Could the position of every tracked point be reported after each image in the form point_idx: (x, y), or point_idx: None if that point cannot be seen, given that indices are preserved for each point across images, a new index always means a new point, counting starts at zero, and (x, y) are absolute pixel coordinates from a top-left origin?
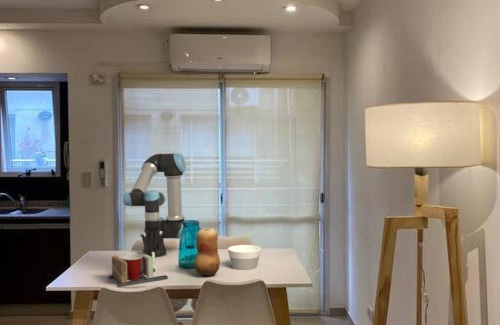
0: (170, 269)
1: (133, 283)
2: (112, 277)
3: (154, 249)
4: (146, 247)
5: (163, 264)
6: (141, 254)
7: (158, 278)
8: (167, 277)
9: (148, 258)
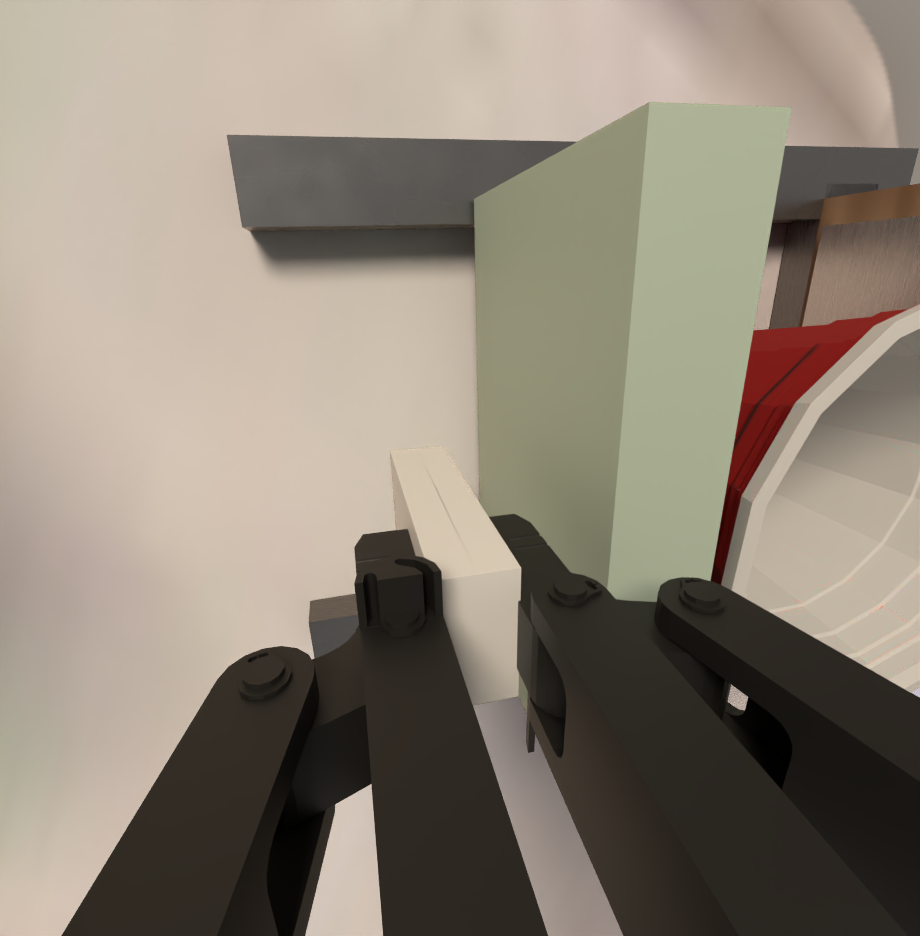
0: (75, 639)
1: None
2: None
3: (454, 662)
4: (849, 673)
5: None
6: None
7: (399, 140)
8: (233, 142)
9: (786, 110)
